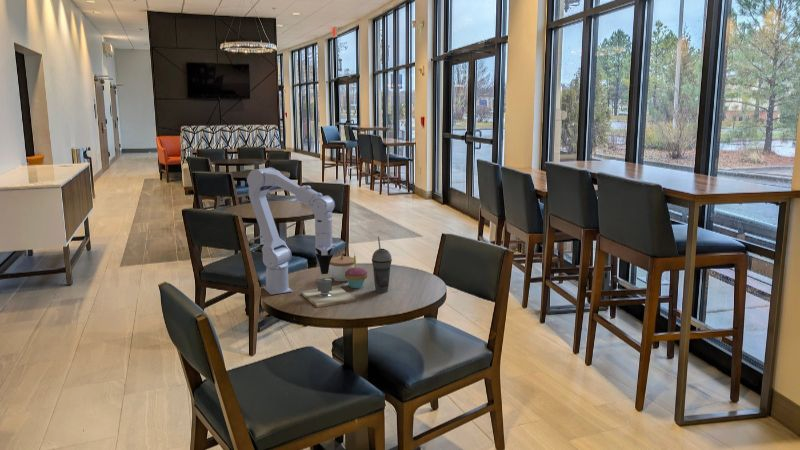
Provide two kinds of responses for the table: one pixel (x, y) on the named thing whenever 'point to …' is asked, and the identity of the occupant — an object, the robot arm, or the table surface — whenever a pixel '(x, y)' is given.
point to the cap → (324, 285)
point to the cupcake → (355, 276)
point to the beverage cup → (381, 269)
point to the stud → (325, 294)
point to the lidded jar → (340, 267)
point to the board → (336, 297)
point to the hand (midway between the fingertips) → (324, 270)
